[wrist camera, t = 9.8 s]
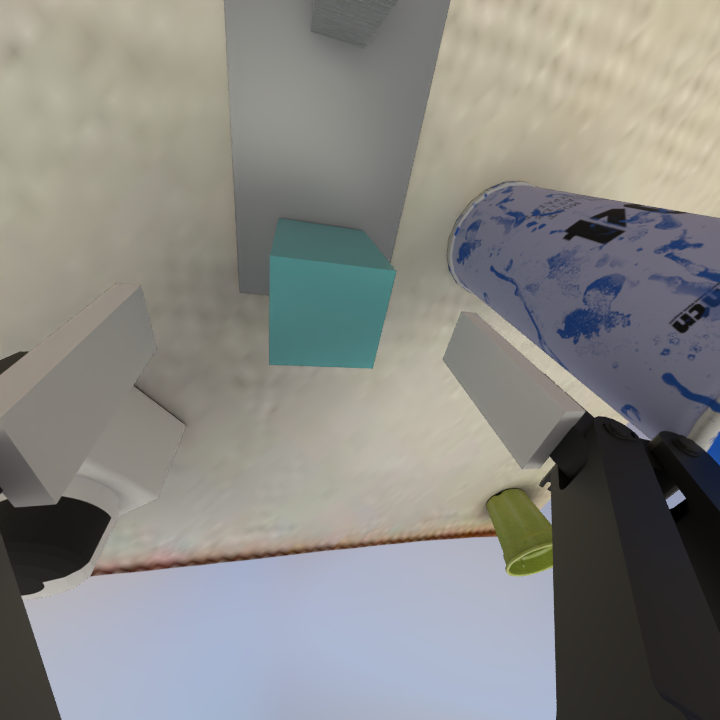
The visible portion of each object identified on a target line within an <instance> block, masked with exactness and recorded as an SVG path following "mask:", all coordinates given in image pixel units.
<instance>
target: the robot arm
mask: <svg viewBox="0 0 720 720" xmlns="http://www.w3.org/2000/svg"><path fill="white" fill-rule="evenodd" d="M156 350H157V348H156V343H155V339H154V335H153V331H152V327H151V323H150V319H149V314H148V310H147V306H146V302H145V298H144V294H143V290H142V285H136V284H124V283H116V284H114V285H113V286H112V287H111V288H109V289H108V290H107V291H105V292H104V293H103V294H102V295H100V296H99V297H98V298H97V299H95V300H94V301H93V302H92V303H90V304H89V305H88V306H87V307H85V308H84V309H83V310H82V311H80V312H79V313H78V314H76V315H75V316H74V317H73V318H71V319H70V320H69V321H68V322H66V323H65V324H64V325H63V326H61V327H60V328H59V329H58V330H56V331H55V332H54V333H53V334H51V335H50V336H49V337H47V338H46V339H45V340H44V341H42V342H41V343H40V344H39V345H37V346H36V347H35V348H34V349H32V350H31V351H30V352H18V353H16V354H14V355H11V356H9V357H7V358H4V359H2V360H0V494H1V493H3V494H4V495H5V496H6V498H7V499H8V500H9V501H10V502H11V504H12V505H13V506H14V507H27V506H40V505H54V504H57V502H58V501H59V499H60V498H61V496H62V495H63V493H64V492H65V490H66V489H67V487H68V485H69V484H70V482H71V481H72V479H73V478H74V476H75V475H76V473H77V472H78V470H79V469H80V467H81V465H82V464H83V462H84V461H85V459H86V458H87V456H88V455H89V453H90V452H91V450H92V448H93V447H94V445H95V444H96V442H97V441H98V439H99V438H100V436H101V435H102V433H103V432H104V430H105V428H106V427H107V425H108V424H109V422H110V421H111V419H112V418H113V416H114V415H115V413H116V411H117V410H118V408H119V407H120V405H121V404H122V402H123V401H124V399H125V398H126V396H127V395H128V393H129V391H130V390H131V388H132V387H133V385H134V384H135V382H136V381H137V379H138V378H139V376H140V374H141V373H142V371H143V370H144V368H145V367H146V365H147V364H148V362H149V361H150V359H151V358H152V356H153V354H154V353H155V351H156ZM443 361H444V362H445V364H446V365H447V366H448V368H449V369H450V370H451V372H452V373H453V375H454V376H455V377H456V379H457V380H458V382H459V383H460V384H461V386H462V387H463V388H464V390H465V391H466V393H467V394H468V395H469V397H470V398H471V400H472V401H473V402H474V404H475V405H476V406H477V408H478V409H479V411H480V412H481V413H482V415H483V416H484V417H485V419H486V420H487V422H488V423H489V424H490V426H491V427H492V429H493V430H494V431H495V433H496V434H497V435H498V437H499V438H500V440H501V441H502V442H503V444H504V445H505V447H506V448H507V449H508V451H509V452H510V453H511V455H512V456H513V458H514V459H515V460H516V462H517V463H518V465H519V466H520V467H521V469H534V468H540V467H541V466H542V465H543V464H544V463H545V461H546V460H547V459H548V458H549V456H550V457H551V458H552V460H553V461H554V462H555V463H556V464H555V465H554V466H553V467H552V469H551V470H550V471H549V472H548V473H547V475H546V476H545V477H544V478H543V479H542V480H541V482H540V485H539V486H541V487H543V486H544V485H545V484H546V483H547V482H551V486H550V487H549V488H548V490H549V491H551V506H552V508H551V509H552V547H553V585H554V621H555V660H556V699H557V716H556V720H720V465H719V464H718V463H717V462H716V461H715V460H714V459H713V458H712V457H711V456H710V455H709V454H708V453H707V452H706V451H705V450H704V449H703V448H702V447H700V446H699V445H697V444H696V443H695V442H694V441H693V440H691V439H689V438H688V439H687V437H685V436H683V435H679V434H676V433H674V432H669V431H661V432H659V433H658V434H657V435H656V436H655V437H654V438H653V439H652V440H651V441H649V440H644V439H640V438H639V437H638V436H637V435H636V434H635V432H633V431H632V430H631V429H629V428H628V427H626V426H625V425H623V424H622V423H620V422H618V421H616V420H614V419H610V418H607V417H601V416H598V417H595V418H594V417H593V416H592V415H591V414H589V413H588V412H587V411H586V410H585V409H584V408H583V407H582V406H580V405H579V404H578V403H577V402H576V401H575V400H574V399H573V398H571V397H570V396H569V395H568V394H567V393H566V392H564V391H563V390H562V389H561V388H560V387H559V386H558V385H556V384H555V382H553V381H552V380H551V379H550V378H549V377H548V376H547V375H546V374H544V373H543V372H542V371H540V370H539V369H538V368H537V367H536V366H535V365H534V364H533V363H531V362H530V361H529V360H528V359H527V358H526V357H525V356H524V355H522V354H521V353H520V352H519V351H518V350H517V349H516V348H515V347H513V346H512V345H511V344H510V343H509V342H508V341H507V340H506V339H504V338H503V337H502V336H501V335H500V334H499V333H498V332H497V331H495V330H494V329H493V328H492V327H491V326H490V325H489V324H488V323H486V322H485V321H484V320H483V319H482V318H481V317H480V316H479V315H477V314H476V313H472V312H461V314H460V317H459V319H458V322H457V324H456V327H455V329H454V332H453V334H452V337H451V339H450V342H449V344H448V347H447V350H446V352H445V355H444V357H443ZM679 489H680V491H681V492H682V493H683V495H684V496H685V497H686V499H685V500H684V501H682V502H681V503H679V504H678V505H677V506H675V507H674V508H672V509H669V507H668V505H667V503H666V499H667V498H669V497H670V496H671V495H673V494H674V493H675V492H676V491H678V490H679ZM0 720H61V717H60V714H59V711H58V708H57V705H56V701H55V698H54V695H53V692H52V690H51V686H50V683H49V680H48V677H47V674H46V671H45V668H44V665H43V662H42V658H41V655H40V652H39V649H38V647H37V643H36V640H35V637H34V634H33V631H32V628H31V625H30V621H29V619H28V615H27V612H26V609H25V606H24V603H23V600H22V597H21V594H20V591H19V588H18V585H17V582H16V578H15V575H14V572H13V569H12V566H11V563H10V560H9V557H8V554H7V551H6V548H5V545H4V542H3V538H2V535H1V532H0Z"/></svg>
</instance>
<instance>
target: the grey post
mask: <svg viewBox="0 0 720 720" xmlns="http://www.w3.org/2000/svg"><path fill="white" fill-rule="evenodd" d="M397 2H398V0H312V16H311V32H314V33H317V34H321V35H324V36H327V37H331V38H334V39H337V40H340V41H344V42H347V43H350V44H354V45H357V46H360V47H363V48H365V47H366V46H367V44H368V43H369V42H370V40H371V39H372V37H373V36H374V34H375V33H376V32H377V30H378V29H379V27H380V26H381V24H382V23H383V22H384V20H385V19H386V17H387V16H388V14H389V13H390V12H391V10H392V9H393V7H394V6H395V4H396V3H397Z"/></svg>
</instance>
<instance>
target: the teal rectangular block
mask: <svg viewBox="0 0 720 720" xmlns="http://www.w3.org/2000/svg"><path fill="white" fill-rule="evenodd" d="M395 275H396V270H395V269H394V267H393V266H392V265H391V264H390V263H389V261H388V260H387V259H386V258H385V256H384V255H383V254H382V253H381V251H380V250H379V249H378V248H377V246H376V245H375V244H374V243H373V242H372V240H371V239H370V238H369V237H368V235H367V234H366V233H365V232H364V231H361V230H355V229H348V228H341V227H335V226H328V225H322V224H315V223H309V222H302V221H295V220H289V219H282V218H279V219H278V223H277V228H276V232H275V236H274V240H273V244H272V248H271V253H270V309H269V365H293V366H320V367H346V368H373V365H374V361H375V357H376V353H377V349H378V345H379V340H380V336H381V332H382V328H383V324H384V320H385V316H386V312H387V308H388V304H389V299H390V295H391V291H392V287H393V283H394V279H395Z"/></svg>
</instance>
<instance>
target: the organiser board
mask: <svg viewBox="0 0 720 720" xmlns="http://www.w3.org/2000/svg"><path fill="white" fill-rule="evenodd" d="M449 4H450V0H398V2H397V3H396V4H395V6H394V7H393V9H392V10H391V12H390V13H389V14H388V16H387V17H386V19H385V20H384V22H383V23H382V24H381V26H380V27H379V29H378V30H377V32H376V33H375V34H374V36H373V37H372V39H371V40H370V42H369V43H368V44H367V46H366V47H365V48H363V47H360V46H357V45H354V44H350V43H347V42H344V41H340V40H337V39H334V38H331V37H327V36H324V35H321V34H317V33H314V32H311V16H312V0H224V10H225V29H226V47H227V66H228V85H229V104H230V122H231V141H232V160H233V178H234V197H235V216H236V234H237V253H238V272H239V290H240V293H248V294H259V295H270V253H271V248H272V244H273V240H274V236H275V232H276V228H277V223H278V219H279V218H282V219H289V220H295V221H302V222H309V223H315V224H322V225H328V226H335V227H341V228H348V229H355V230H361V231H364V232H365V233H366V234H367V235H368V237H369V238H370V239H371V240H372V242H373V243H374V244H375V245H376V246H377V248H378V249H379V250H380V251H381V253H382V254H383V255H384V256H385V258H386V259H387V260H388V261H389V263H390V262H391V258H392V254H393V249H394V245H395V241H396V236H397V232H398V227H399V223H400V219H401V214H402V210H403V205H404V201H405V197H406V192H407V188H408V184H409V179H410V175H411V170H412V166H413V162H414V157H415V153H416V149H417V144H418V140H419V135H420V131H421V127H422V122H423V118H424V114H425V109H426V105H427V100H428V96H429V92H430V87H431V83H432V79H433V74H434V70H435V65H436V61H437V57H438V52H439V48H440V44H441V39H442V35H443V30H444V26H445V22H446V17H447V13H448V9H449Z"/></svg>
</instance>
